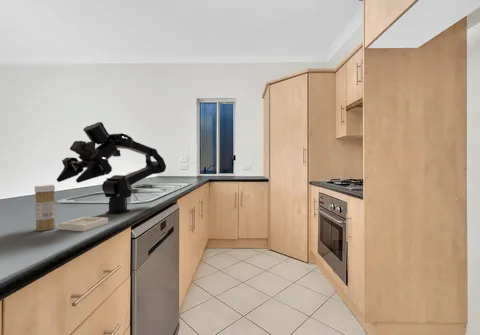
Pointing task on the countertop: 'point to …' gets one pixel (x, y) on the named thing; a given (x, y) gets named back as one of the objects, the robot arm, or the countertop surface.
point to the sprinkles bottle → (45, 207)
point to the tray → (83, 223)
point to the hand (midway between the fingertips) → (66, 181)
